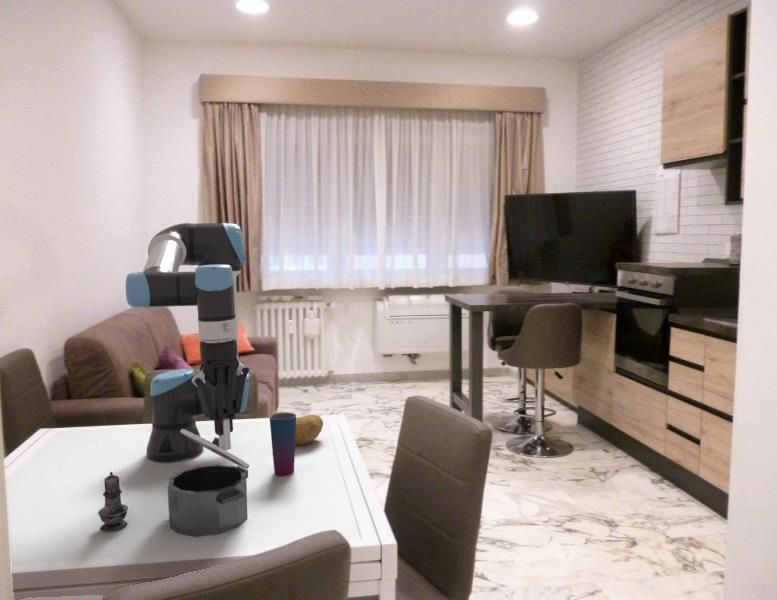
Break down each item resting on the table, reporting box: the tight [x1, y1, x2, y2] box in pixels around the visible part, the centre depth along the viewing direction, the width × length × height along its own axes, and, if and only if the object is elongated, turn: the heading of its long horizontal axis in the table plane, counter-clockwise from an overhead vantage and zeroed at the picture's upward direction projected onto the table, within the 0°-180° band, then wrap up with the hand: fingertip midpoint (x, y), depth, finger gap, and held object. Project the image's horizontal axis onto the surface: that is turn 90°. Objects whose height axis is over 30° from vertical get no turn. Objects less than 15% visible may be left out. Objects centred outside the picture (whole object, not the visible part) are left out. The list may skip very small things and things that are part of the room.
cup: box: [269, 411, 297, 477], centre depth 159 cm, size 7×7×15 cm
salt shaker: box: [97, 471, 129, 533], centre depth 130 cm, size 6×6×12 cm
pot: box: [167, 463, 249, 537], centre depth 134 cm, size 20×17×9 cm
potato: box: [295, 414, 324, 446], centre depth 183 cm, size 10×14×8 cm
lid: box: [180, 429, 250, 470], centre depth 134 cm, size 17×17×3 cm
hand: (225, 448), depth 131 cm, fingers closed
